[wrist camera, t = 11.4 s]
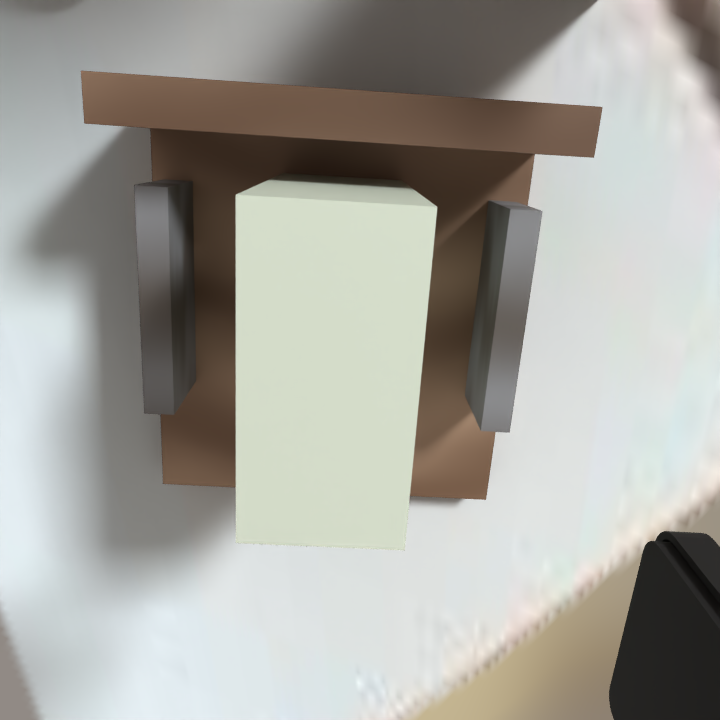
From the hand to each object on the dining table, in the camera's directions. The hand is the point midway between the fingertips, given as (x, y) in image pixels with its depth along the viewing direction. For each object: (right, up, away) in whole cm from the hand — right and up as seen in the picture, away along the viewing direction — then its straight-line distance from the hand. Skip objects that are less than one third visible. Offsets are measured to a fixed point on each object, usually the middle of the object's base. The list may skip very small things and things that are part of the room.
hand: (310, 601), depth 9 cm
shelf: (0, +6, +22) cm, 22 cm away
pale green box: (0, +6, +20) cm, 21 cm away
